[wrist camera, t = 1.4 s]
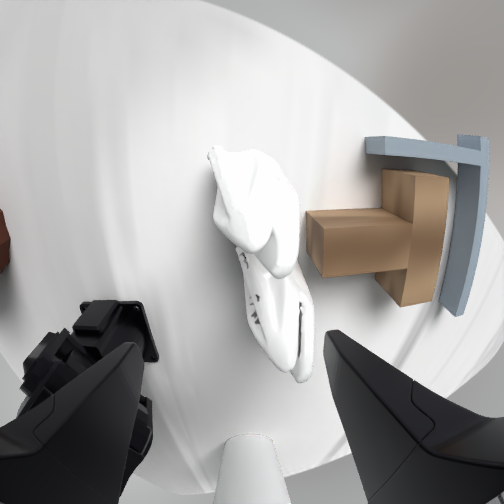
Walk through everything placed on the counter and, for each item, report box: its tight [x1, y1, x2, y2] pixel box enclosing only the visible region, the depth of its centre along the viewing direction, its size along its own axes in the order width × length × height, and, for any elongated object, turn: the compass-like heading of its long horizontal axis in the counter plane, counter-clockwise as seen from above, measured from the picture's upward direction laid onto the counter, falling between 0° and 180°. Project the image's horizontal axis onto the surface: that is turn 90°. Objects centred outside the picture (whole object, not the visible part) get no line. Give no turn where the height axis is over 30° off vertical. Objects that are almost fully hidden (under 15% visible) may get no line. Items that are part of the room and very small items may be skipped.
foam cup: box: [213, 434, 291, 504], centre depth 23 cm, size 10×9×13 cm
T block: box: [306, 169, 449, 307], centre depth 18 cm, size 9×9×4 cm
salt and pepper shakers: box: [207, 145, 314, 383], centre depth 14 cm, size 12×4×11 cm, turn 14°
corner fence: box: [365, 135, 489, 317], centre depth 18 cm, size 16×11×3 cm
